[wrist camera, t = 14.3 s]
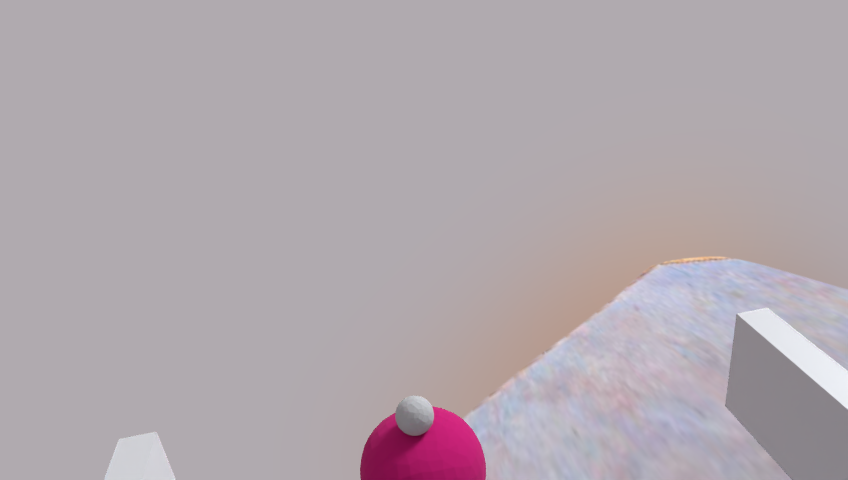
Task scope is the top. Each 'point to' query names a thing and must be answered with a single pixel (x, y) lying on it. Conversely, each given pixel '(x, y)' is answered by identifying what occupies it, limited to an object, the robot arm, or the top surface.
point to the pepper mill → (422, 446)
